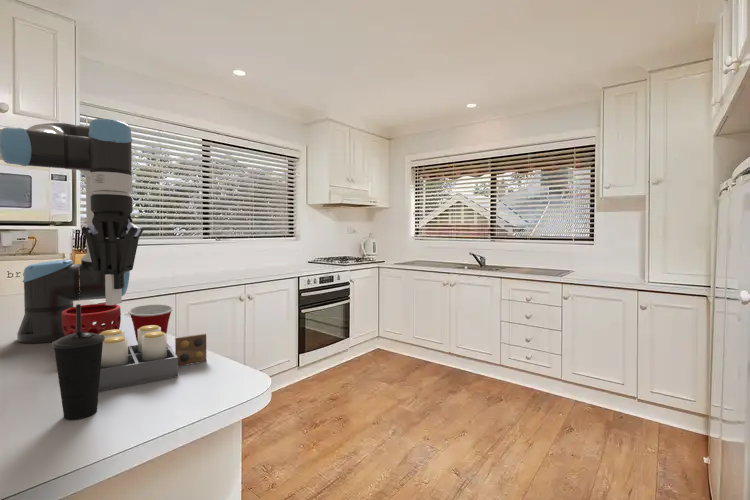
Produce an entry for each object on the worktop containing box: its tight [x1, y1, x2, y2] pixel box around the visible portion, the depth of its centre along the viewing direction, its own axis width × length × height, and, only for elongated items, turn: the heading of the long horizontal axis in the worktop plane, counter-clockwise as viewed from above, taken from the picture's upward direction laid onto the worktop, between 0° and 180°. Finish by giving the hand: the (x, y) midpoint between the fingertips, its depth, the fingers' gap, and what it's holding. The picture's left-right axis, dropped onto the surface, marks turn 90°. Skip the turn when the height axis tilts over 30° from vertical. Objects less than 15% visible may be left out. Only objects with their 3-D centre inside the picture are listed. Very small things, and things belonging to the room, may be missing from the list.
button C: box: [101, 336, 129, 367], centre depth 87 cm, size 5×5×5 cm
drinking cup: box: [51, 304, 105, 421], centre depth 72 cm, size 8×8×20 cm
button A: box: [99, 328, 126, 339], centre depth 93 cm, size 5×5×5 cm
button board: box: [99, 343, 179, 392], centre depth 92 cm, size 16×16×4 cm
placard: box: [174, 333, 207, 367], centre depth 100 cm, size 1×7×7 cm, turn 127°
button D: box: [142, 332, 168, 361], centre depth 91 cm, size 5×5×5 cm
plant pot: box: [62, 303, 122, 336], centre depth 109 cm, size 13×13×12 cm
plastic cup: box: [127, 303, 174, 344], centre depth 109 cm, size 11×11×12 cm
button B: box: [137, 325, 161, 352], centre depth 98 cm, size 5×5×5 cm
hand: (113, 303), depth 86 cm, fingers closed
